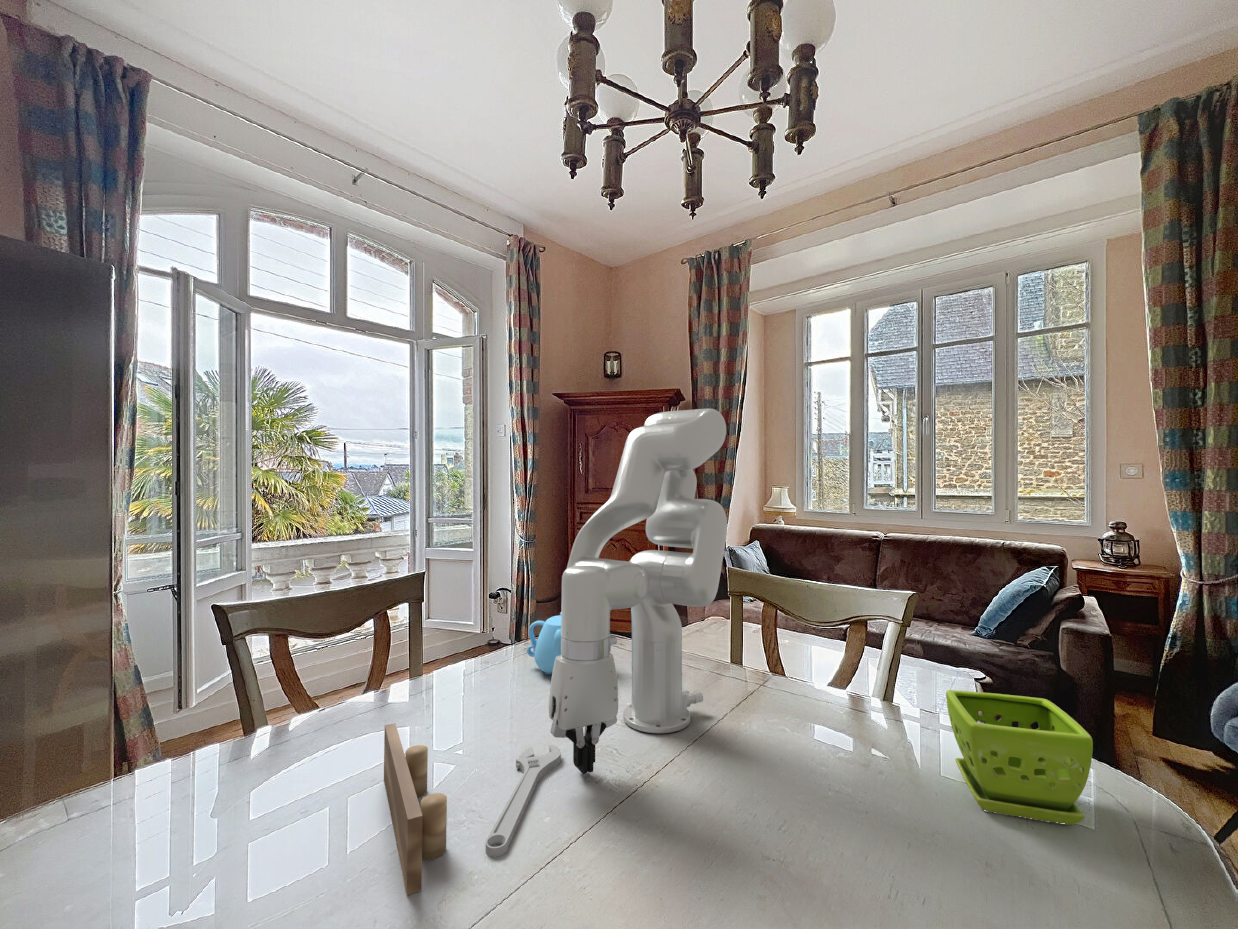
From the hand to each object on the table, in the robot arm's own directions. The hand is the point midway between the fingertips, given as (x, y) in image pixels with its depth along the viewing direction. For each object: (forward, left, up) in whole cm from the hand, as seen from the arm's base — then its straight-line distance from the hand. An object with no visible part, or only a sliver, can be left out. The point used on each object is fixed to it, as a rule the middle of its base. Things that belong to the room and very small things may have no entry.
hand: (584, 769), depth 82 cm
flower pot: (-50, +35, -1) cm, 61 cm away
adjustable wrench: (+10, 0, -2) cm, 10 cm away
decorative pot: (-16, -45, -1) cm, 48 cm away
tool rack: (+24, 0, -1) cm, 24 cm away
